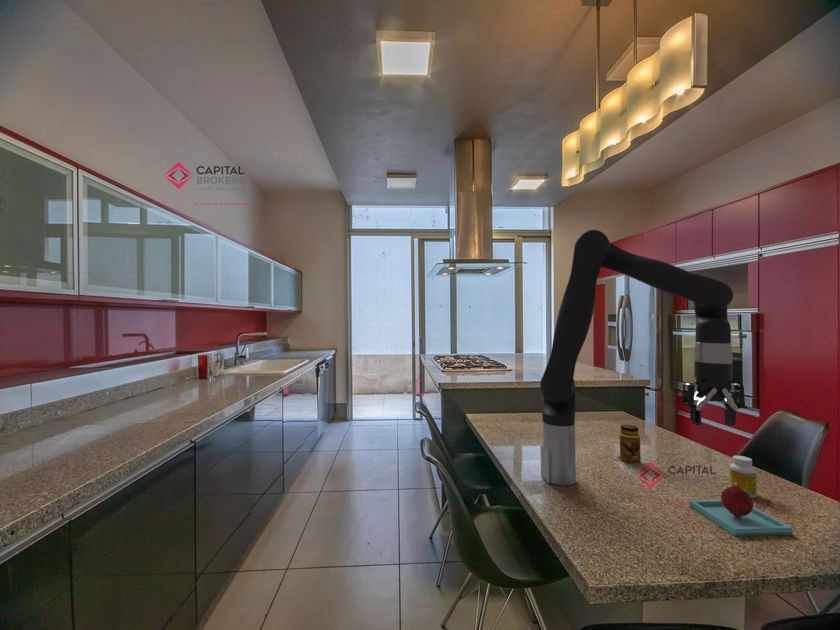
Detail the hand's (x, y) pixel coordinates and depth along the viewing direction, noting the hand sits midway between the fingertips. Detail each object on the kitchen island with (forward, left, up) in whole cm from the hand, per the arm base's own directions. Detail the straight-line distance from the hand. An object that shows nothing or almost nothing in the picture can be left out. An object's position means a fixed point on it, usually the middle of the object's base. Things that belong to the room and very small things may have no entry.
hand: (713, 424), depth 91 cm
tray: (+1, -4, -22) cm, 22 cm away
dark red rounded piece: (+2, -4, -21) cm, 22 cm away
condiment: (-2, +34, -22) cm, 40 cm away
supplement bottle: (+15, +9, -22) cm, 28 cm away
